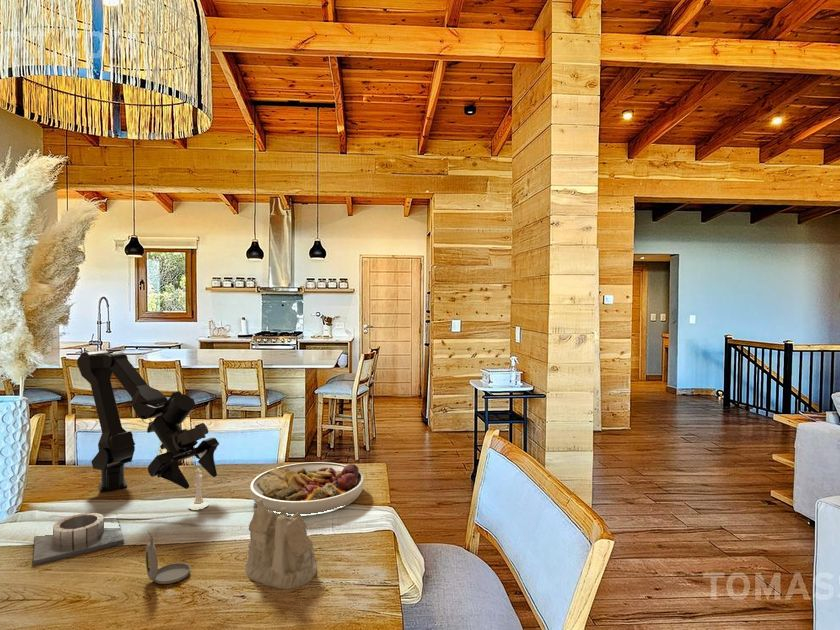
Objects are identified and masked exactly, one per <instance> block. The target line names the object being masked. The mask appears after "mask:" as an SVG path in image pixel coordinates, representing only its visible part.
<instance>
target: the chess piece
mask: <svg viewBox="0 0 840 630" xmlns="http://www.w3.org/2000/svg"><path fill="white" fill-rule="evenodd" d="M194 473H195V474H196V475H194V476H193V479H194V481H195V484H194V485H193V487H194V488H195V489H196V491H195V499H194V500H193V501H194V504H201V503H203V502H204V501H203V500H204V498H203V496H202V490H201V489H202V486H204V485H203V483H202V479H203V475H202V473H203V471H202V470H200V468H197V469H196V470H194Z"/></svg>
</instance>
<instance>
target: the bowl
mask: <svg viewBox="0 0 840 630" xmlns="http://www.w3.org/2000/svg"><path fill="white" fill-rule="evenodd" d="M364 482H365V477H364V475H363V473H362V471H361V470H359V467H358V466H357V465H356V464H353V463H350V464H347V465H346V464H342V463H337V462H326V461H314V462H311V461H310V462H298V463H290V464H286V465H282V466H278V467H274V468H271V469H268V470H266V471H264V472H262V473H260V474H258V475H257V476H255V478H254V479H253V480H252V481H251V483H250V488H249V489H250V496H251V498H252V501H253V502H254V503H255V504H256V505H257V500H258V499H260V498H261V499H262V500H263V505H266V508H267V510H269V511H276V512H280V509H281V508H286V513H288V514H296V513H299V514H311V513H318V512H324V511H327V510H331V509H334V508H337V507H340V506H344V505H347V506H349V505H350V504H352V503H353V502H354V501H356V499H358V498H359V496H360V494H361V493H362V491H363V489H364Z"/></svg>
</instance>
